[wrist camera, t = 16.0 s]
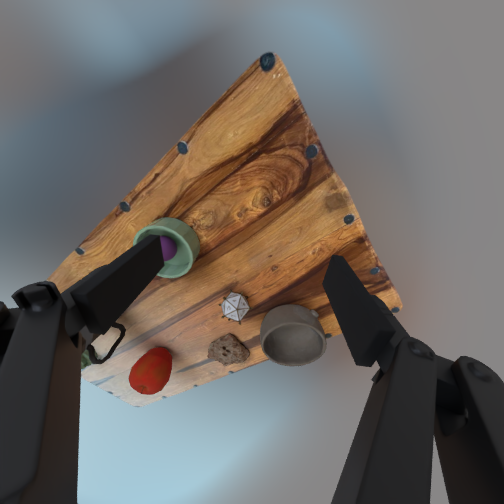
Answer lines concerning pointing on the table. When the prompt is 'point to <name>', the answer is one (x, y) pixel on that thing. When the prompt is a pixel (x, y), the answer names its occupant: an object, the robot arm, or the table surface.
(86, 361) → the decorative artifact
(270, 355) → the bowl
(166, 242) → the plum ball
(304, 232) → the table surface
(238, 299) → the game die
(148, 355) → the apple
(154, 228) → the green bowl
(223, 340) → the rock
